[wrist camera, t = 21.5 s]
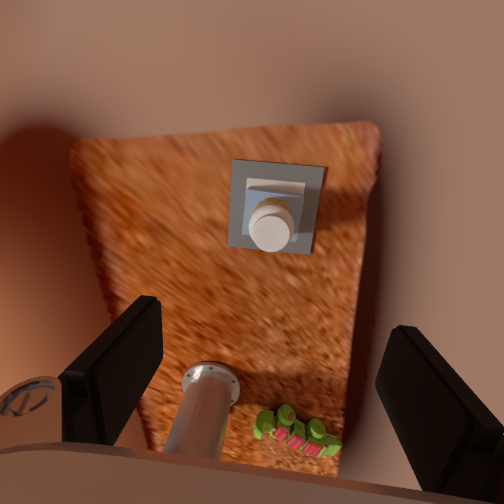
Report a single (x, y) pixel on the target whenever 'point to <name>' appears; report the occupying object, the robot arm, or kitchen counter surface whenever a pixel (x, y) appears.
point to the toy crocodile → (297, 432)
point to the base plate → (275, 178)
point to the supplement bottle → (271, 224)
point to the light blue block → (289, 198)
